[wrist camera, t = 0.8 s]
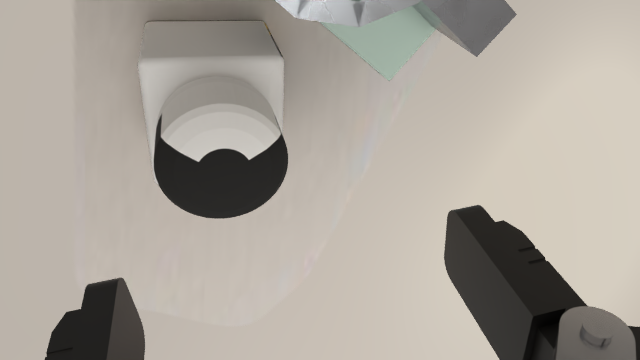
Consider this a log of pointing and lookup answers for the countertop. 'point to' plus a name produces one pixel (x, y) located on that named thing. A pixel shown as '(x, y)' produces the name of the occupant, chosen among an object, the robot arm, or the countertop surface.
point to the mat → (386, 39)
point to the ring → (432, 3)
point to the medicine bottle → (214, 114)
